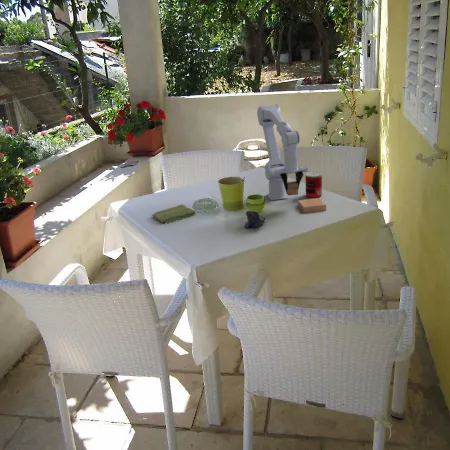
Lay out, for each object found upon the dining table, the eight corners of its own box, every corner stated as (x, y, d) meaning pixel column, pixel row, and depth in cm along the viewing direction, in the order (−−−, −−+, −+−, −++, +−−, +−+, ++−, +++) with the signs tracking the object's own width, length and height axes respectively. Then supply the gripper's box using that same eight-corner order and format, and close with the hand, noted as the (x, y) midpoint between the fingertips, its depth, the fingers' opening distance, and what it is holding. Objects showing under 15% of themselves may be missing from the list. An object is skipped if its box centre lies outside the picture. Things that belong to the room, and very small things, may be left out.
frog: (252, 232, 197) (251, 216, 194) (238, 225, 206) (237, 209, 203) (271, 227, 201) (270, 211, 198) (256, 220, 210) (255, 204, 207)
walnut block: (285, 192, 220) (285, 181, 218) (295, 191, 221) (295, 181, 219) (288, 195, 216) (288, 184, 214) (298, 194, 217) (297, 183, 215)
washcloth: (150, 218, 223) (149, 211, 222) (184, 209, 232) (183, 202, 231) (162, 225, 213) (162, 219, 212) (197, 216, 221) (197, 209, 220)
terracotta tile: (297, 205, 223) (297, 200, 222) (319, 203, 224) (318, 197, 223) (304, 212, 214) (304, 207, 213) (326, 209, 215) (326, 204, 214)
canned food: (321, 193, 238) (321, 171, 234) (322, 198, 230) (322, 175, 226) (305, 193, 239) (304, 172, 235) (306, 198, 231) (305, 176, 227)
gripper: (276, 162, 209) (277, 193, 213) (309, 159, 210) (310, 189, 215) (273, 159, 215) (274, 188, 220) (305, 156, 216) (305, 185, 221)
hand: (291, 188), depth 218 cm, fingers closed on walnut block, 4 cm apart
